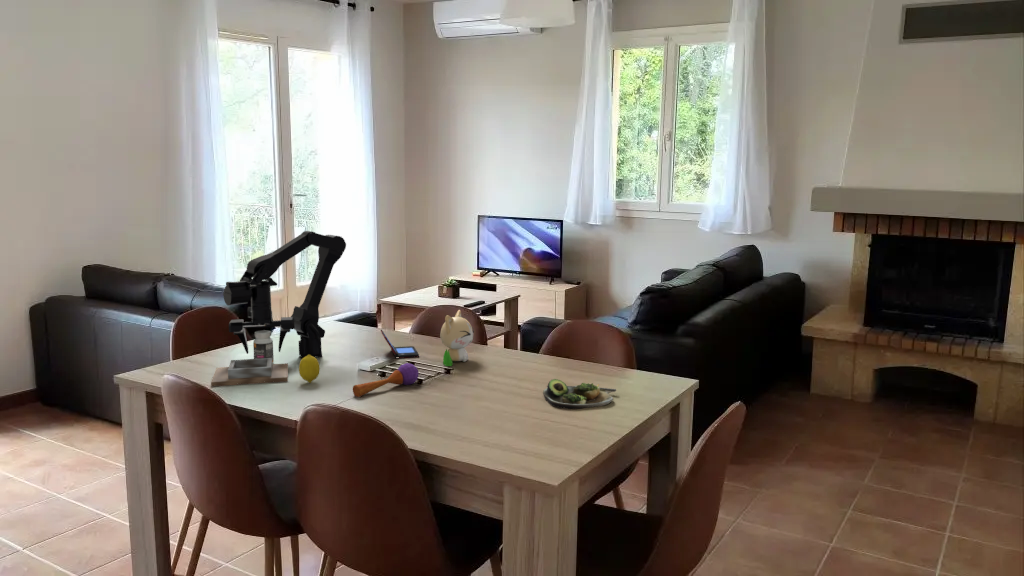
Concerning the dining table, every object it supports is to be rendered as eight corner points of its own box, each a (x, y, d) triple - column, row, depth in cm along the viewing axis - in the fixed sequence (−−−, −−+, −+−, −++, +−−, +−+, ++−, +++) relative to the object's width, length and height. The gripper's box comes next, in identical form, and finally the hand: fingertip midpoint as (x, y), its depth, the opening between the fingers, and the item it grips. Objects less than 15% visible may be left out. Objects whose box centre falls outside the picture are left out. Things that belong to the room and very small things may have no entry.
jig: (287, 367, 240) (287, 355, 239) (287, 381, 225) (286, 368, 224) (216, 371, 235) (216, 359, 234) (211, 386, 219) (210, 373, 219)
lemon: (324, 381, 224) (323, 353, 223) (311, 386, 220) (310, 357, 218) (308, 379, 227) (307, 351, 226) (295, 384, 222) (294, 355, 221)
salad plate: (605, 387, 220) (606, 371, 219) (629, 407, 203) (629, 389, 202) (536, 392, 216) (537, 375, 215) (555, 412, 198) (555, 394, 198)
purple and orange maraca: (347, 380, 212) (407, 361, 226) (352, 402, 212) (411, 381, 226) (360, 380, 208) (420, 360, 222) (365, 402, 208) (424, 381, 222)
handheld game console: (419, 358, 252) (419, 334, 251) (384, 360, 249) (384, 336, 248) (414, 349, 264) (413, 326, 263) (380, 351, 261) (380, 328, 260)
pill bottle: (250, 365, 242) (248, 332, 241) (262, 360, 247) (260, 329, 246) (265, 367, 240) (264, 334, 239) (277, 362, 245) (276, 330, 244)
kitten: (462, 368, 239) (462, 318, 237) (431, 365, 242) (430, 316, 240) (480, 356, 253) (480, 309, 251) (451, 354, 256) (450, 307, 254)
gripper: (293, 295, 251) (295, 344, 253) (230, 298, 246) (232, 348, 249) (293, 301, 240) (295, 353, 243) (227, 304, 235) (230, 356, 238)
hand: (263, 352), depth 243 cm, fingers open, 9 cm apart
